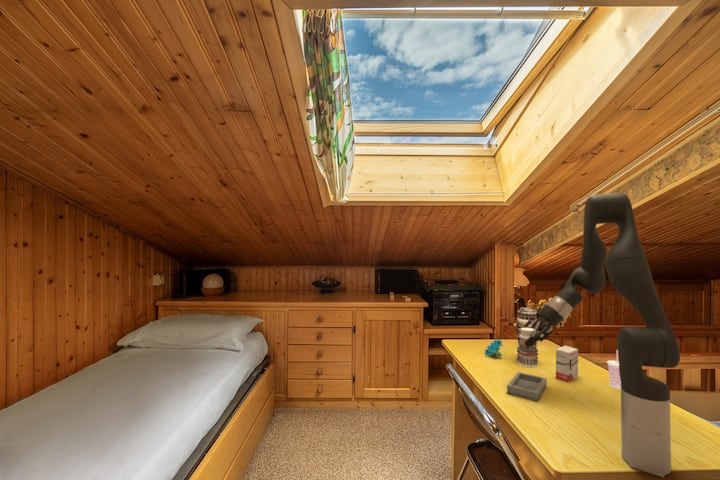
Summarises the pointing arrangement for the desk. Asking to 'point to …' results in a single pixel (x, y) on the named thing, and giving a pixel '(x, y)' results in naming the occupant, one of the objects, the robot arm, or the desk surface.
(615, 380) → the beverage cup
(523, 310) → the black white patterned cylinder
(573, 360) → the ink box
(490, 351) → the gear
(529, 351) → the pill bottle
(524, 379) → the tray
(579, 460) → the desk surface
